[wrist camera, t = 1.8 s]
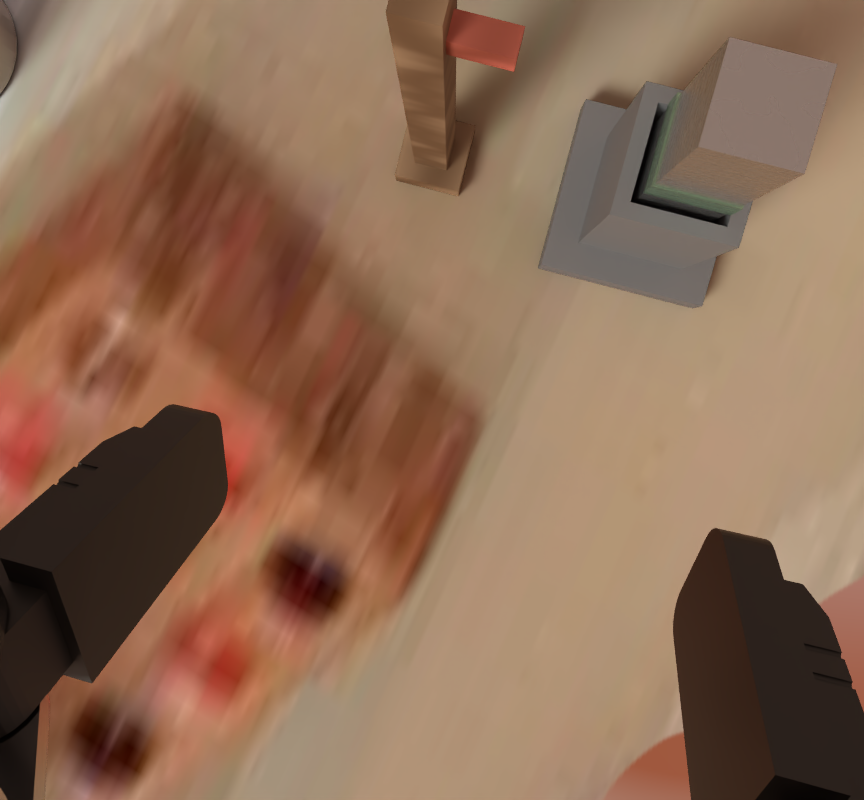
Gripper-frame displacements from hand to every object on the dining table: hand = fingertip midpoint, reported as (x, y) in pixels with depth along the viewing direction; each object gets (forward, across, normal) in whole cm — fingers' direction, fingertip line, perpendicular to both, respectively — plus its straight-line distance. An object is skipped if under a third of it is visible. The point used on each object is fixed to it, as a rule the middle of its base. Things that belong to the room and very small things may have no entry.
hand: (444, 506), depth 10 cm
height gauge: (+32, +8, +2) cm, 33 cm away
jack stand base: (+33, -5, +3) cm, 34 cm away
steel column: (+32, -6, +2) cm, 32 cm away
